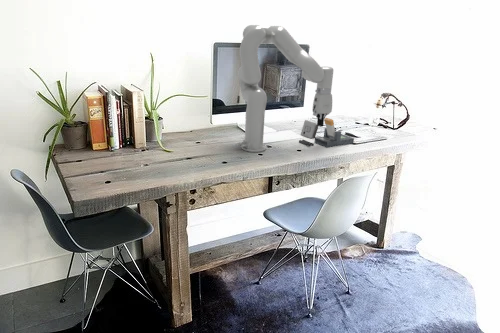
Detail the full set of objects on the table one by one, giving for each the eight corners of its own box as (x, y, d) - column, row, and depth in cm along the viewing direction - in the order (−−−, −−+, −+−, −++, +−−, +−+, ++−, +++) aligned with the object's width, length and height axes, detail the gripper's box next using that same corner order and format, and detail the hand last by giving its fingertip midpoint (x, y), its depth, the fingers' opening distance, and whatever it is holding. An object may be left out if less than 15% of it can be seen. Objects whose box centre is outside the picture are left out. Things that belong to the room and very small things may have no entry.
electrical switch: (300, 135, 228) (302, 119, 226) (306, 135, 231) (309, 119, 229) (311, 139, 221) (313, 123, 219) (317, 138, 224) (320, 123, 222)
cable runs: (309, 146, 206) (309, 144, 206) (298, 142, 214) (298, 139, 213) (314, 146, 208) (314, 143, 208) (303, 141, 216) (303, 139, 215)
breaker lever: (335, 139, 210) (331, 121, 204) (327, 136, 215) (323, 119, 209) (337, 137, 211) (333, 119, 205) (330, 135, 216) (325, 117, 210)
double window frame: (326, 147, 206) (328, 133, 203) (314, 142, 214) (315, 129, 211) (353, 143, 216) (355, 129, 213) (340, 139, 224) (342, 125, 221)
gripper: (317, 93, 192) (313, 128, 199) (339, 91, 200) (335, 126, 206) (307, 90, 198) (304, 125, 204) (329, 89, 206) (325, 123, 212)
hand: (320, 125), depth 205 cm, fingers closed
